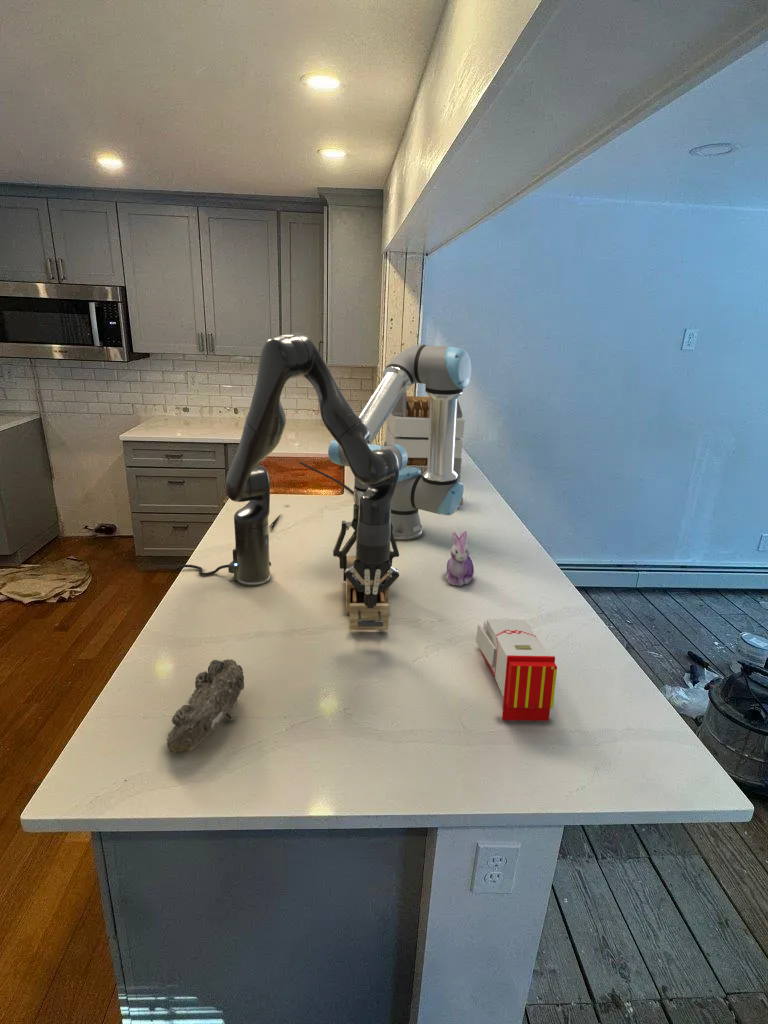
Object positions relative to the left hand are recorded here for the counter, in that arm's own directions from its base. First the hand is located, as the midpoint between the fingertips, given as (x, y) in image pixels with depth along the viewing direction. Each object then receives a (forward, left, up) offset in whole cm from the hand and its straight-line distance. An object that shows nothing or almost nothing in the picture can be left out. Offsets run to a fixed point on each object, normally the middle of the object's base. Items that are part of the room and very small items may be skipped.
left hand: (370, 606), depth 132 cm
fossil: (-20, -35, -9) cm, 42 cm away
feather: (-55, +67, -9) cm, 87 cm away
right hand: (-8, +23, -5) cm, 26 cm away
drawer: (-3, +8, -8) cm, 12 cm away
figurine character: (+3, +107, -9) cm, 108 cm away
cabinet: (-7, +19, -9) cm, 23 cm away
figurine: (+16, +40, -9) cm, 44 cm away
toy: (+33, -4, -9) cm, 35 cm away
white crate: (-20, +148, -9) cm, 150 cm away
